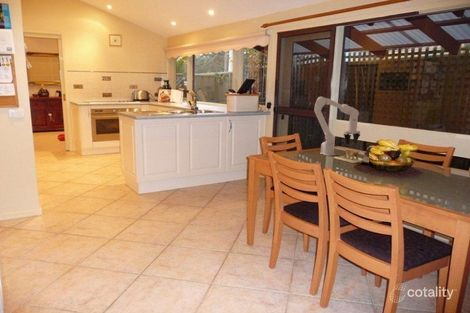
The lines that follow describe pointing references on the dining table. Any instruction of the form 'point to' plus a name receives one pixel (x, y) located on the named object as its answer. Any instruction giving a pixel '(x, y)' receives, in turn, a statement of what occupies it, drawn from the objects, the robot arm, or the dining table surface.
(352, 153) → the stool
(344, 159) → the mat
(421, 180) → the dining table surface
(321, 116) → the robot arm
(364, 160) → the stone
